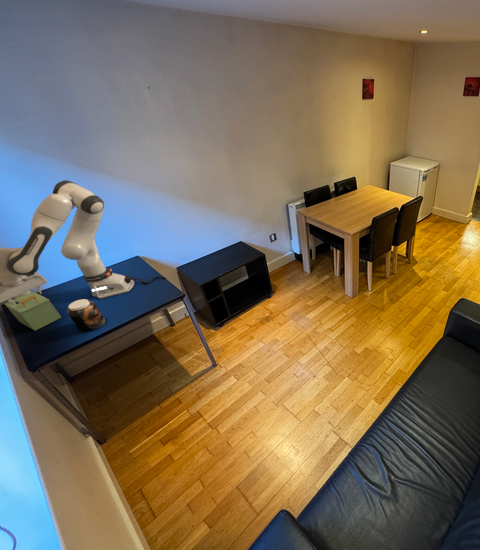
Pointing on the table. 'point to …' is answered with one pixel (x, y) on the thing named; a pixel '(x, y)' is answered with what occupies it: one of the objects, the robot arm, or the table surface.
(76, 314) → the jar
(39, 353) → the table surface
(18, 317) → the tea box
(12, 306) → the lid
